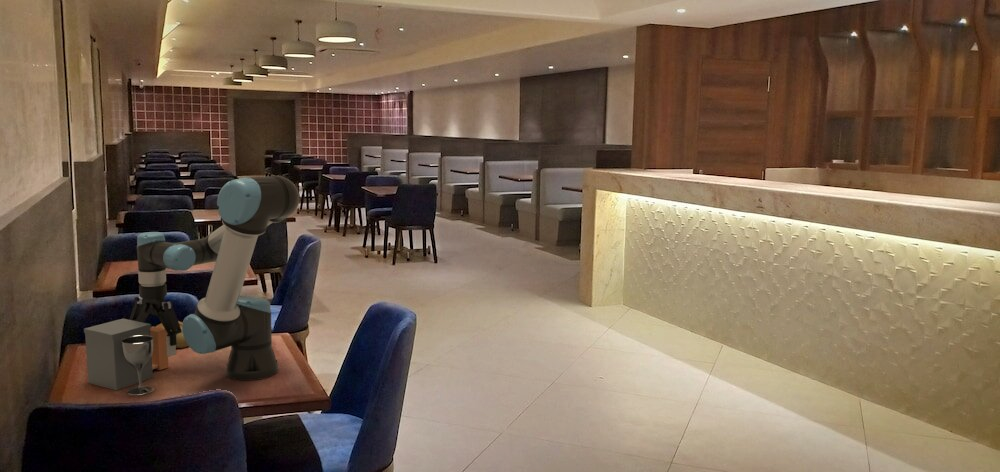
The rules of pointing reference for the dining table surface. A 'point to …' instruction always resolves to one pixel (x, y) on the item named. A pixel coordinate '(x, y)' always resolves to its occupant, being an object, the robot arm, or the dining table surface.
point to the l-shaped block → (159, 348)
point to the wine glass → (138, 358)
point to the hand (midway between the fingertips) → (155, 351)
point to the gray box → (113, 354)
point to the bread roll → (178, 337)
